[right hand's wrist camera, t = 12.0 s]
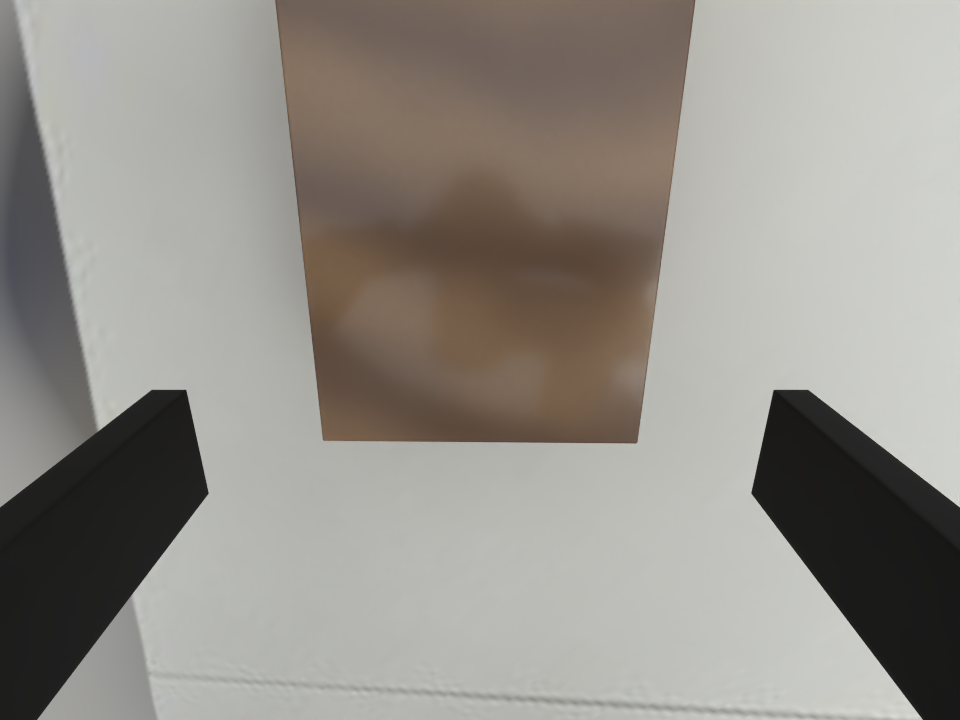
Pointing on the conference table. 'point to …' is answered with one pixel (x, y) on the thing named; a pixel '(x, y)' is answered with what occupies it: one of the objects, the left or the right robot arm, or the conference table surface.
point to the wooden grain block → (483, 210)
